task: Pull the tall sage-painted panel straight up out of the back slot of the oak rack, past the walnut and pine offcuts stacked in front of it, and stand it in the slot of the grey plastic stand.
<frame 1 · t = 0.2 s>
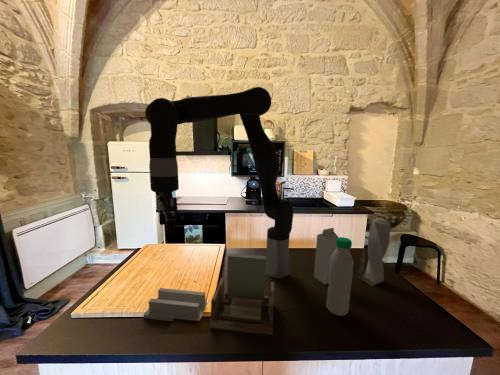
hand: (167, 228, 65), 29 cm above the counter, tool pointing down, fingers open, 8 cm apart
pine offcut: (246, 312, 66), point 4 cm above the counter, touching walnut offcut
walnut offcut: (242, 321, 67), point 1 cm above the counter, touching oak rack, pine offcut
milk: (324, 279, 92), on the counter
oak rack: (244, 316, 70), on the counter
water bottle: (337, 309, 74), on the counter
grey stand: (178, 309, 72), on the counter
skyscraper: (372, 280, 92), on the counter
sage panel: (245, 306, 73), point 1 cm above the counter, touching oak rack
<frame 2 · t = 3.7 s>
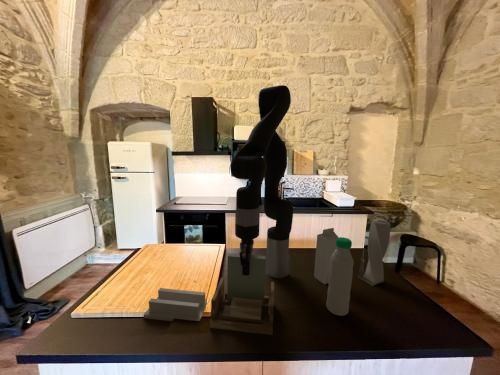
hand: (246, 272, 70), 14 cm above the counter, tool pointing down, fingers closed on sage panel, 2 cm apart
sage panel: (245, 306, 73), point 1 cm above the counter, touching gripper, oak rack
everything else where it was.
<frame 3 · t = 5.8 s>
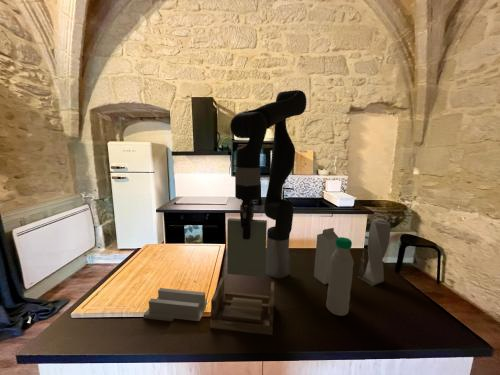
hand: (247, 237, 68), 26 cm above the counter, tool pointing down, fingers closed on sage panel
sage panel: (246, 273, 71), point 13 cm above the counter, touching gripper
everything else where it was.
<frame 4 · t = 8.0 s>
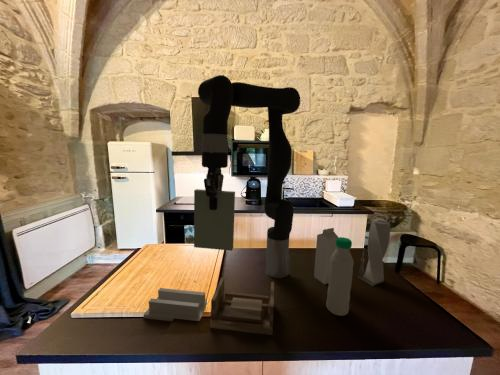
hand: (214, 208, 67), 35 cm above the counter, tool pointing down, fingers closed on sage panel
sage panel: (213, 247, 69), point 22 cm above the counter, touching gripper
everything else where it was.
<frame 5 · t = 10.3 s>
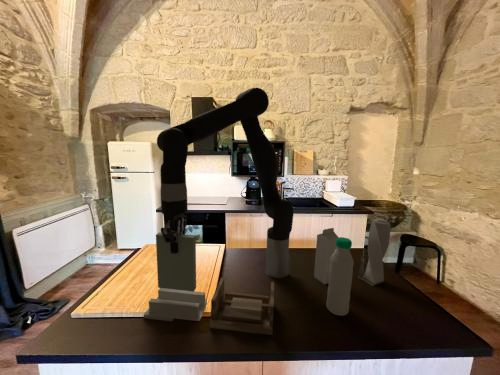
hand: (176, 251, 69), 21 cm above the counter, tool pointing down, fingers closed on sage panel
sage panel: (177, 287, 71), point 8 cm above the counter, touching gripper
everything else where it was.
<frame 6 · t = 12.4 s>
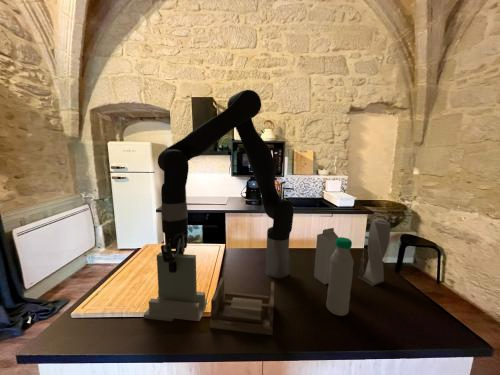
hand: (176, 267, 70), 15 cm above the counter, tool pointing down, fingers open, 4 cm apart
sage panel: (178, 306, 72), point 1 cm above the counter, touching grey stand
everything else where it was.
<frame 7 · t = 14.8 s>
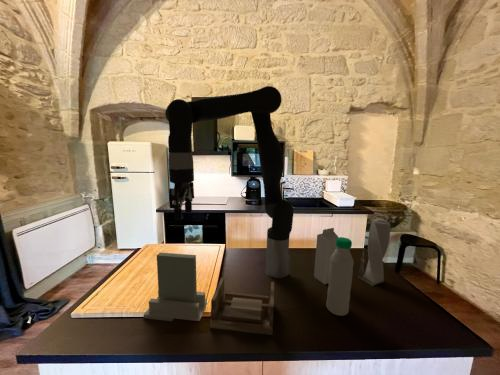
hand: (183, 216, 73), 30 cm above the counter, tool pointing down, fingers open, 8 cm apart
nothing on the counter moved.
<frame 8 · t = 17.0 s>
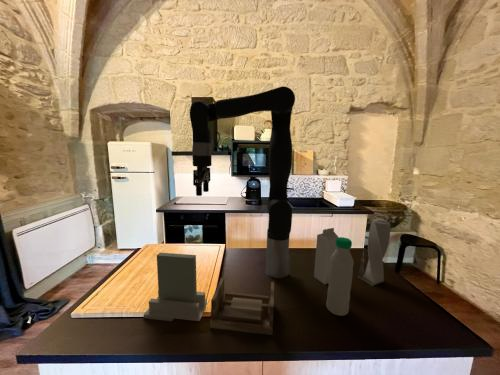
hand: (202, 193, 92), 34 cm above the counter, tool pointing down, fingers open, 8 cm apart
nothing on the counter moved.
at the end: sage panel 0.1 cm off-centre on the grey stand, point 1.2 cm above the grey stand's base; sage panel tilted 0°; walnut offcut moved 0.0 cm from its start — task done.
